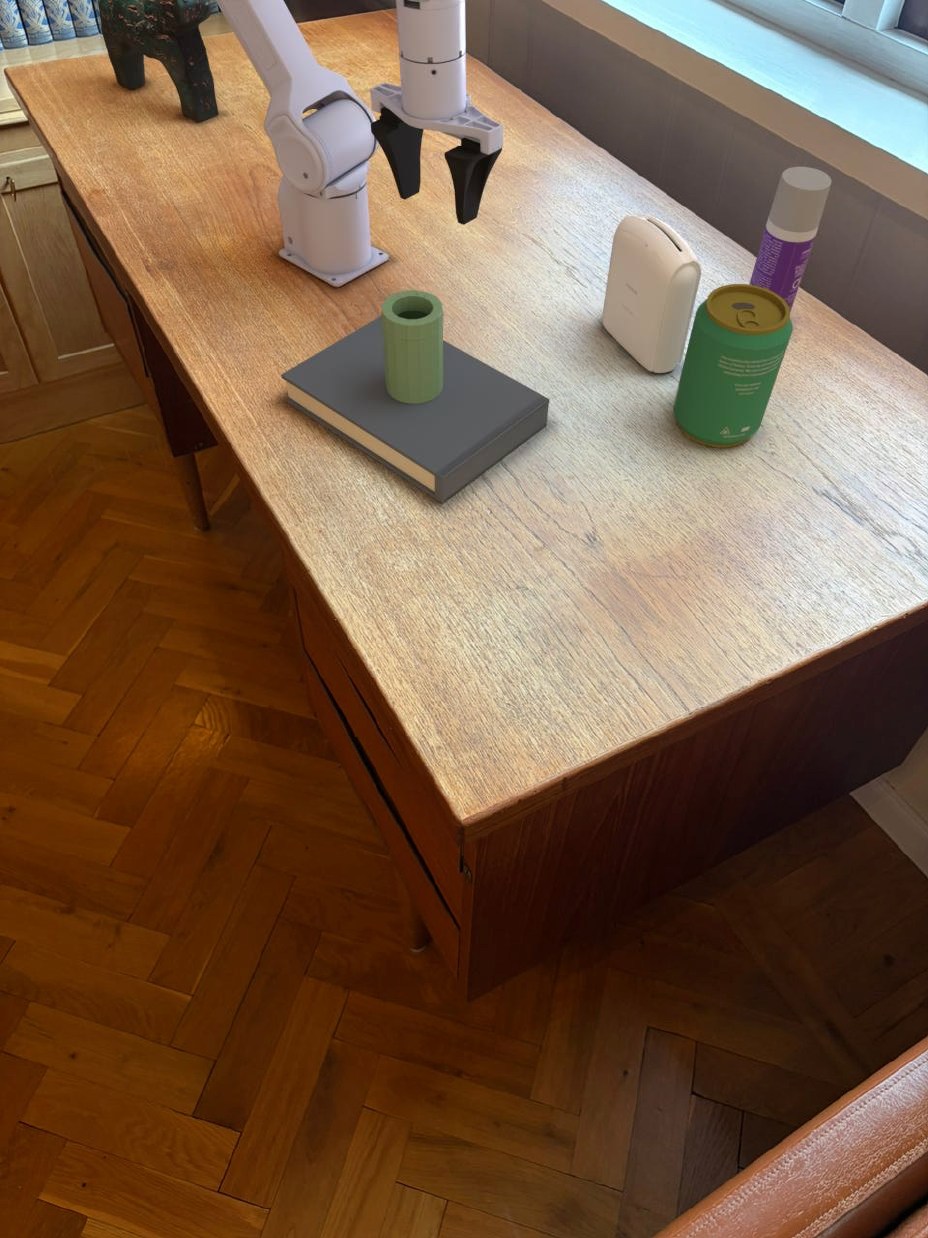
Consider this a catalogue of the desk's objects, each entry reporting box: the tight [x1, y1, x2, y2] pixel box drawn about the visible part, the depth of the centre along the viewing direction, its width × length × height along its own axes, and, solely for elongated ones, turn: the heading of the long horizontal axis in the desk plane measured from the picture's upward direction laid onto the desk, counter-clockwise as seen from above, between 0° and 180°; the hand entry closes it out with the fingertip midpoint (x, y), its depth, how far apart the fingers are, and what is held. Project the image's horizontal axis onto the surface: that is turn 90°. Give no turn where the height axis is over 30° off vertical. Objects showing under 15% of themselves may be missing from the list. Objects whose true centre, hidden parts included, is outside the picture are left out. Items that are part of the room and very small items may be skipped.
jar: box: [380, 289, 444, 404], centre depth 81 cm, size 5×5×8 cm
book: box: [280, 315, 551, 505], centre depth 85 cm, size 20×14×3 cm
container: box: [748, 166, 832, 313], centre depth 90 cm, size 5×5×15 cm
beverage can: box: [672, 283, 794, 448], centre depth 82 cm, size 8×8×12 cm
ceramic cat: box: [97, 0, 219, 123], centre depth 118 cm, size 20×6×20 cm, turn 49°
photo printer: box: [601, 212, 702, 374], centre depth 89 cm, size 10×4×12 cm, turn 26°
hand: (438, 207), depth 90 cm, fingers open, 7 cm apart
